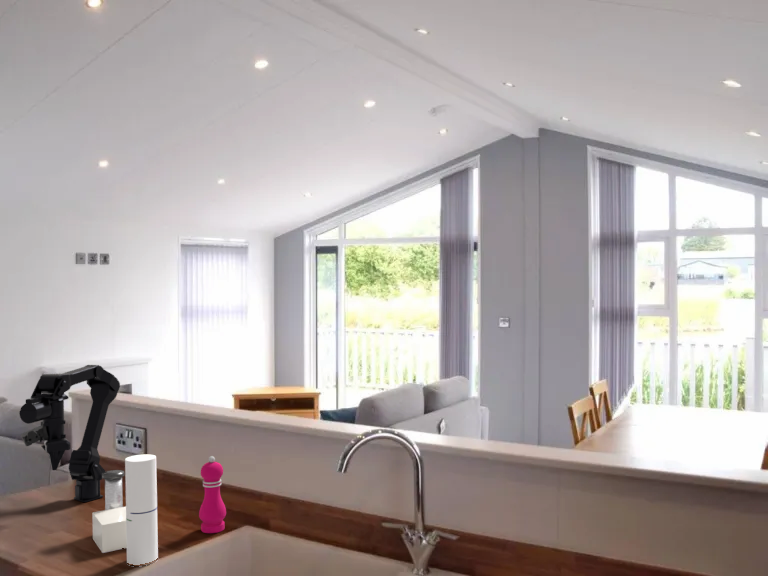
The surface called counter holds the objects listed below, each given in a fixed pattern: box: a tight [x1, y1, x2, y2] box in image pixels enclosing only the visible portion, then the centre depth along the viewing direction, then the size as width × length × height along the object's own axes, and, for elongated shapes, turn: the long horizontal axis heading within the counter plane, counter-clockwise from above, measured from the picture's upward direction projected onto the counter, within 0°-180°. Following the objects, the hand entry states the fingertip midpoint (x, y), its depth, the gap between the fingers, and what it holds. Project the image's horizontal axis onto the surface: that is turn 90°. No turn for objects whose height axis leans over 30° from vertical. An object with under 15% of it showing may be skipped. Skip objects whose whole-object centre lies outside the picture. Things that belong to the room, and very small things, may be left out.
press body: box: [91, 505, 127, 554], centre depth 184 cm, size 12×12×7 cm
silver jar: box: [102, 469, 125, 510], centre depth 187 cm, size 15×6×16 cm, turn 33°
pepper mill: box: [198, 455, 227, 534], centre depth 191 cm, size 7×7×20 cm
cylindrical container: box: [124, 453, 159, 565], centre depth 170 cm, size 7×7×25 cm
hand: (54, 470), depth 206 cm, fingers closed
